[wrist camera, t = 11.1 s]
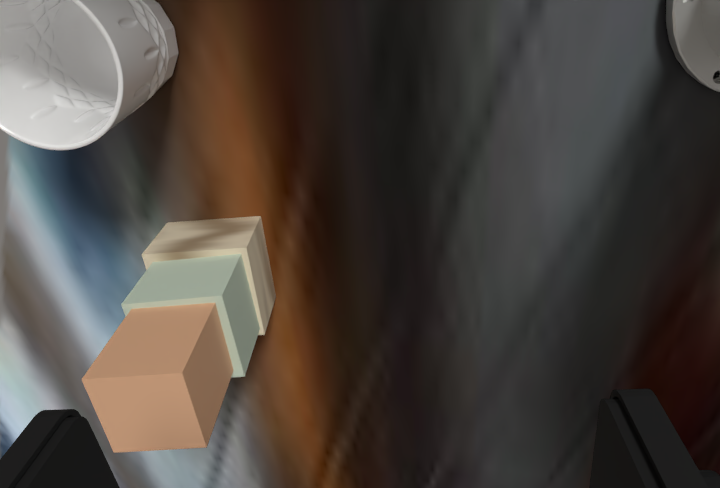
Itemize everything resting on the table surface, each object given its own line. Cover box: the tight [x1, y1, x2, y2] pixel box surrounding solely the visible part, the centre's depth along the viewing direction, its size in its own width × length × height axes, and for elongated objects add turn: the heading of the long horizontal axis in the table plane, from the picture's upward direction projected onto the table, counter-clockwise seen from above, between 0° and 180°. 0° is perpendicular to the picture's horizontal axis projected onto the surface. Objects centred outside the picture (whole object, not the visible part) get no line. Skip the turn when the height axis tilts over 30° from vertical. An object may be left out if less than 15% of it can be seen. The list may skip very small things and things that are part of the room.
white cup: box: [0, 0, 179, 150], centre depth 30 cm, size 8×8×10 cm
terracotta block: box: [82, 303, 233, 453], centre depth 30 cm, size 5×5×6 cm
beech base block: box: [142, 216, 276, 335], centre depth 39 cm, size 7×7×5 cm
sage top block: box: [121, 254, 260, 378], centre depth 35 cm, size 6×6×5 cm
